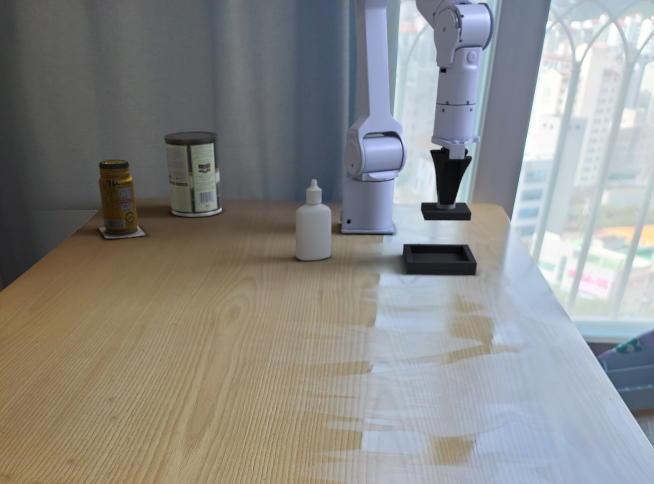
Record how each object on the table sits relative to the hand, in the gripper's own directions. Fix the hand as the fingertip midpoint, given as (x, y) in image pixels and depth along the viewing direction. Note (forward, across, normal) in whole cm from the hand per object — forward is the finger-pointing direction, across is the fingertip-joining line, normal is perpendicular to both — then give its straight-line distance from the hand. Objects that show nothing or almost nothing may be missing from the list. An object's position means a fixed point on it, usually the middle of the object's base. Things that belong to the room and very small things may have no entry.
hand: (445, 201), depth 116 cm
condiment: (+9, +16, +56) cm, 59 cm away
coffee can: (+9, +33, +45) cm, 57 cm away
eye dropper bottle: (+9, +1, +20) cm, 22 cm away
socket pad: (+9, -2, 0) cm, 9 cm away
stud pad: (+2, 0, 0) cm, 2 cm away
